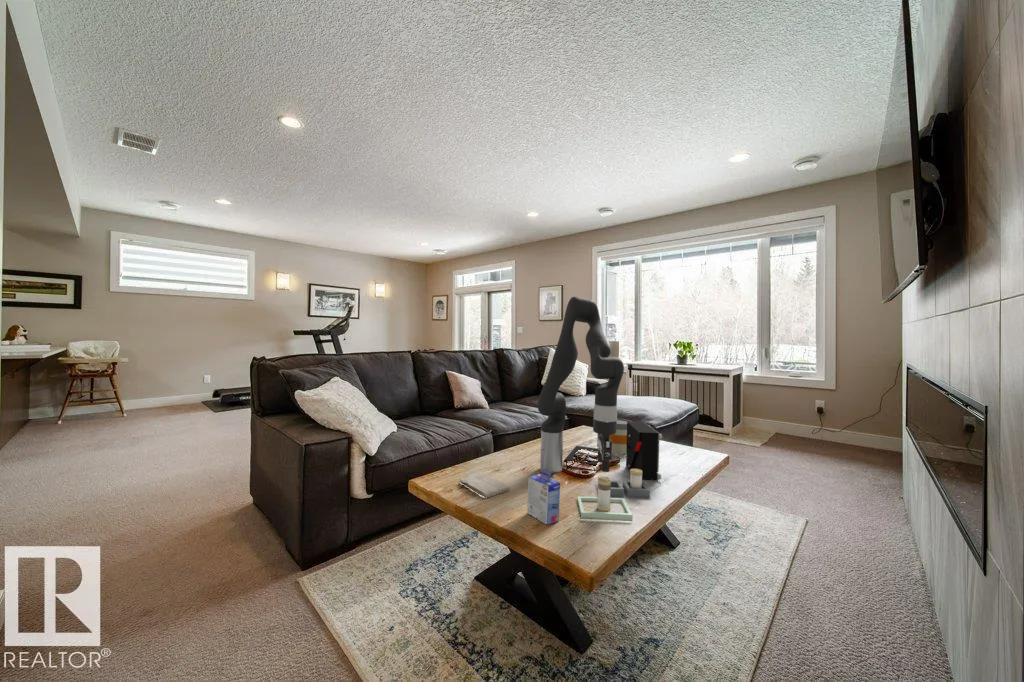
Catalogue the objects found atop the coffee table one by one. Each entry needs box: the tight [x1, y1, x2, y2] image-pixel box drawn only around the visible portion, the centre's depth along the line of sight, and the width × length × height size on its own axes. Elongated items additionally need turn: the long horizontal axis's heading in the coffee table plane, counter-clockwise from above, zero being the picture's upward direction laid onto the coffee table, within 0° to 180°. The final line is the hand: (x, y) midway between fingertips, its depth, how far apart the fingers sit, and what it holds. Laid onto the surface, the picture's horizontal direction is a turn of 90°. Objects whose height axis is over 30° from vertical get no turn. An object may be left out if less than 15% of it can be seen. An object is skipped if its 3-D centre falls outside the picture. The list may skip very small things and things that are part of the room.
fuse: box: [596, 476, 612, 512], centre depth 127 cm, size 4×4×10 cm
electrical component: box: [625, 421, 663, 483], centre depth 160 cm, size 18×10×20 cm, turn 179°
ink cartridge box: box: [526, 470, 561, 525], centre depth 122 cm, size 10×6×14 cm, turn 38°
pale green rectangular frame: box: [576, 495, 634, 522], centre depth 127 cm, size 16×12×2 cm
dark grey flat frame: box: [563, 445, 599, 466], centre depth 177 cm, size 14×23×3 cm, turn 157°
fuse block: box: [594, 469, 652, 500], centre depth 140 cm, size 18×11×9 cm, turn 86°
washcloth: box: [458, 472, 510, 499], centre depth 145 cm, size 12×18×3 cm, turn 41°
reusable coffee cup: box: [609, 418, 633, 455], centre depth 191 cm, size 13×12×15 cm
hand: (603, 466), depth 127 cm, fingers open, 8 cm apart
